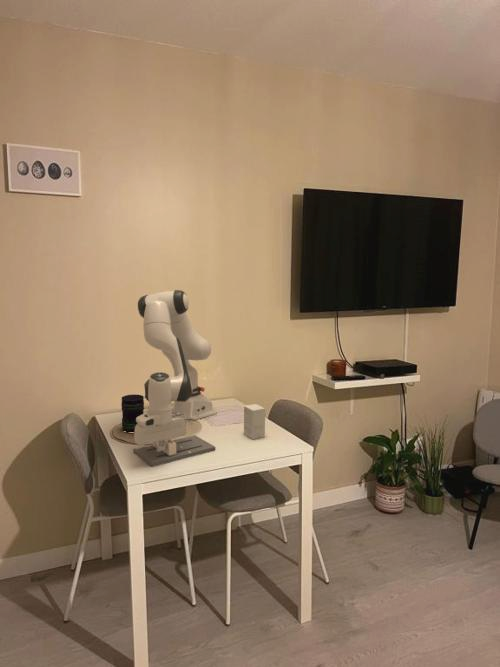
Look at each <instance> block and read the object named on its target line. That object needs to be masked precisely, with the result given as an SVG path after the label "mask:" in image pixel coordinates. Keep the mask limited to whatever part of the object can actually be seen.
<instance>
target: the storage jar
mask: <svg viewBox="0 0 500 667" xmlns="http://www.w3.org/2000/svg"><path fill="white" fill-rule="evenodd" d="M144 399H145V395H141V394H127V395H124V396H122V397H121V411H122V412H121V413H122V414H121V416H122V418H121V427H122V428H121V430H123V431H126V432H134V431H135V426H136V425H137V424H138V423H137V422H136V418H137V417H138V416H140V415H142V414H144V413H145V412H144V409H145V401H144ZM123 431H122V432H123Z"/></svg>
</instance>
